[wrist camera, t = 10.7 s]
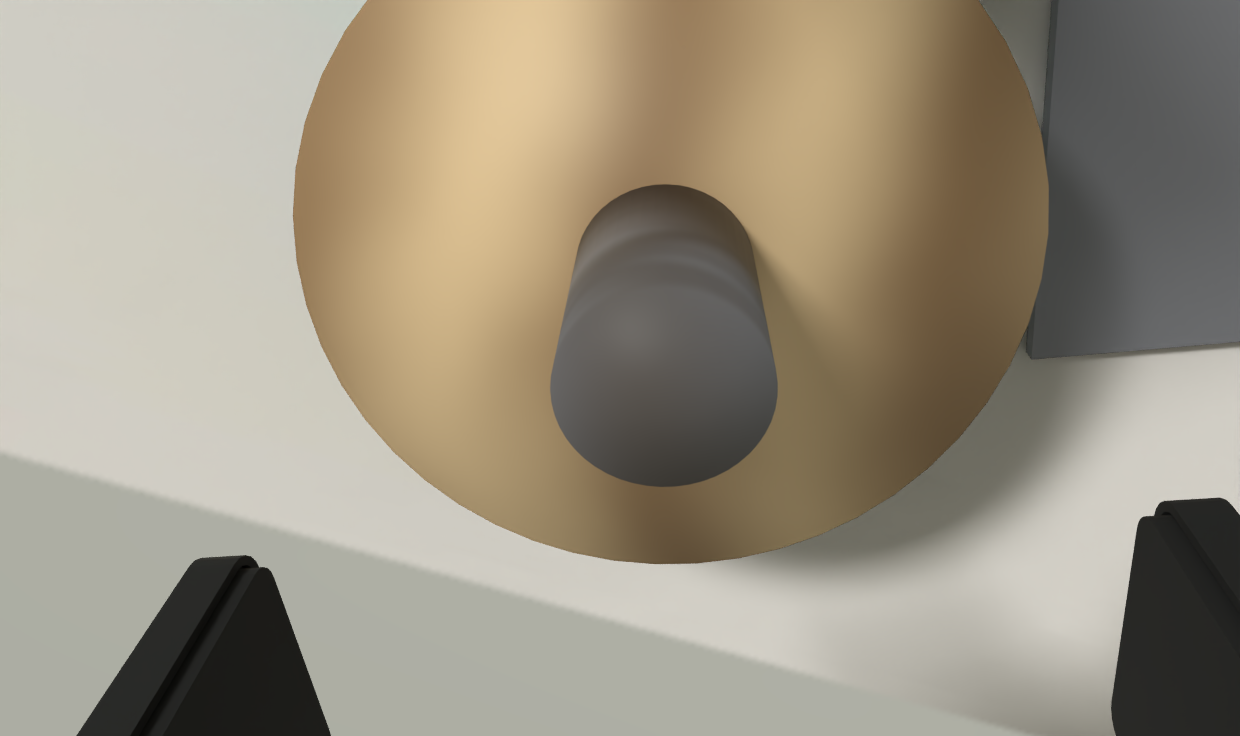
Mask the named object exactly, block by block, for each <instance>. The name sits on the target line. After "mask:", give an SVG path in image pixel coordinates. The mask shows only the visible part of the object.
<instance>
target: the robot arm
mask: <svg viewBox="0 0 1240 736" xmlns="http://www.w3.org/2000/svg"><path fill="white" fill-rule="evenodd" d="M1111 711H1112V720H1113V726H1114V730H1115V734H1116V736H1240V515H1239V514H1238V512H1237V511H1236V510H1235V509H1234V507H1233V506H1232V505H1231V504H1230V503H1229V502H1228V501H1227V500H1225V499H1222V498H1208V499H1191V500H1174V501H1164V502H1161V503H1160V504H1159V505H1158V507H1157V508H1156V511H1155V515H1154V516H1145V517H1142V518H1141V519H1140V521H1139V523H1138V527H1137V532H1136V539H1135V546H1134V553H1133V559H1132V566H1131V573H1130V580H1129V587H1128V594H1127V600H1126V607H1125V614H1124V621H1123V628H1122V634H1121V641H1120V648H1119V655H1118V662H1117V669H1116V675H1115V682H1114V689H1113V696H1112V705H1111ZM77 736H331V735H330V731H329V728H328V725H327V723H326V720H325V717H324V714H323V712H322V709H321V706H320V703H319V700H318V698H317V695H316V692H315V690H314V687H313V684H312V681H311V678H310V676H309V673H308V671H307V668H306V665H305V662H304V659H303V656H302V654H301V651H300V648H299V645H298V643H297V640H296V637H295V634H294V632H293V629H292V626H291V624H290V620H289V618H288V615H287V613H286V609H285V607H284V604H283V601H282V598H281V596H280V593H279V590H278V588H277V585H276V582H275V579H274V577H273V575H272V573H271V571H270V570H269V569H268V568H265V567H260V568H259V566H258V564H257V562H256V561H255V560H254V559H253V558H252V557H251V556H246V555H243V556H226V557H209V558H200V559H197V560H195V561H194V562H193V563H192V564H191V565H190V566H189V568H188V569H187V571H186V572H185V574H184V575H183V577H182V578H181V580H180V581H179V583H178V584H177V586H176V587H175V589H174V590H173V592H172V593H171V595H170V596H169V598H168V599H167V601H166V602H165V604H164V605H163V607H162V608H161V610H160V611H159V613H158V614H157V616H156V617H155V619H154V620H153V622H152V623H151V625H150V626H149V628H148V629H147V631H146V632H145V634H144V635H143V637H142V638H141V640H140V641H139V643H138V644H137V646H136V647H135V649H134V650H133V652H132V653H131V655H130V656H129V658H128V659H127V661H126V662H125V664H124V665H123V667H122V668H121V670H120V671H119V673H118V674H117V676H116V677H115V679H114V680H113V682H112V683H111V685H110V686H109V688H108V689H107V691H106V692H105V694H104V695H103V697H102V698H101V700H100V701H99V703H98V704H97V706H96V707H95V709H94V710H93V712H92V713H91V715H90V716H89V718H88V719H87V721H86V723H85V724H84V725H83V727H82V728H81V730H80V731H79V733H78V734H77Z"/></svg>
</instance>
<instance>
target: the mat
mask: <svg viewBox="0 0 1240 736" xmlns="http://www.w3.org/2000/svg"><path fill="white" fill-rule="evenodd" d="M1042 141H1043V148H1044V155H1045V162H1046V170H1047V177H1048V184H1049V213H1048V239H1047V246H1046V252H1045V259H1044V266H1043V272H1042V279H1041V283H1040V286H1039V289H1038V293H1037V296H1036V300H1035V303H1034V306H1033V310H1032V313H1031V317H1030V320H1029V323H1028V334H1027V348H1026V352H1027V353H1028V355H1029V356H1030V358H1031V359H1044V358H1055V357H1067V356H1079V355H1090V354H1102V353H1114V352H1125V351H1137V350H1149V349H1161V348H1172V347H1184V346H1196V345H1207V344H1219V343H1231V342H1240V0H1052V4H1051V17H1050V31H1049V45H1048V59H1047V72H1046V86H1045V100H1044V114H1043V127H1042Z"/></svg>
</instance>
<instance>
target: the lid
mask: <svg viewBox="0 0 1240 736" xmlns="http://www.w3.org/2000/svg"><path fill="white" fill-rule="evenodd" d="M1048 213H1049V184H1048V177H1047V170H1046V162H1045V155H1044V148H1043V141H1042V135H1041V132H1040V128H1039V125H1038V122H1037V118H1036V115H1035V111H1034V108H1033V105H1032V101H1031V98H1030V94H1029V91H1028V88H1027V86H1026V84H1025V82H1024V79H1023V77H1022V75H1021V73H1020V71H1019V69H1018V67H1017V64H1016V62H1015V60H1014V58H1013V56H1012V54H1011V52H1010V49H1009V47H1008V45H1007V43H1006V41H1005V40H1004V38H1003V37H1002V35H1001V34H1000V32H999V31H998V29H997V28H996V26H995V25H994V23H993V22H992V20H991V19H990V17H989V16H988V14H987V13H986V11H985V10H984V8H983V7H982V5H981V4H980V2H979V1H978V0H367V2H366V3H365V4H364V6H363V7H362V8H361V10H360V11H359V12H358V14H357V15H356V17H355V18H354V19H353V21H352V22H351V23H350V25H349V26H348V27H347V29H346V30H345V32H344V34H343V36H342V38H341V40H340V41H339V43H338V45H337V47H336V49H335V51H334V53H333V55H332V57H331V58H330V60H329V62H328V64H327V66H326V68H325V70H324V72H323V74H322V76H321V78H320V81H319V84H318V87H317V90H316V92H315V95H314V98H313V101H312V104H311V107H310V109H309V112H308V115H307V118H306V121H305V125H304V130H303V135H302V140H301V145H300V150H299V155H298V160H297V165H296V171H295V189H294V206H293V222H294V234H295V246H296V258H297V265H298V269H299V274H300V278H301V283H302V287H303V292H304V296H305V301H306V305H307V308H308V311H309V313H310V316H311V319H312V322H313V324H314V327H315V330H316V333H317V335H318V338H319V341H320V344H321V346H322V348H323V350H324V352H325V354H326V356H327V358H328V360H329V362H330V364H331V366H332V368H333V370H334V372H335V373H336V375H337V377H338V379H339V381H340V383H341V385H342V386H343V388H344V389H345V391H346V392H347V394H348V395H349V397H350V398H351V400H352V401H353V402H354V404H355V405H356V407H357V408H358V410H359V411H360V413H361V414H362V416H363V417H364V418H365V420H366V421H367V422H368V423H369V425H370V426H371V427H372V428H373V429H374V430H375V431H376V432H377V434H378V435H379V436H380V437H381V438H382V439H383V440H384V442H385V443H386V444H387V445H388V446H389V447H390V448H391V450H392V451H393V452H394V453H395V454H396V455H398V456H399V457H400V458H401V459H402V460H403V461H404V462H405V463H406V464H408V465H409V466H410V467H411V468H412V469H413V470H414V471H415V472H417V473H418V474H419V475H420V476H421V477H422V478H423V479H424V480H426V481H427V482H428V483H430V484H431V485H433V486H434V487H435V488H437V489H438V490H440V491H441V492H442V493H444V494H445V495H447V496H448V497H449V498H451V499H452V500H454V501H455V502H456V503H458V504H459V505H461V506H463V507H465V508H467V509H468V510H470V511H472V512H474V513H475V514H477V515H479V516H481V517H483V518H484V519H486V520H488V521H490V522H492V523H493V524H495V525H498V526H500V527H502V528H505V529H507V530H509V531H512V532H514V533H516V534H519V535H521V536H524V537H526V538H528V539H531V540H533V541H536V542H539V543H543V544H546V545H549V546H553V547H556V548H559V549H563V550H566V551H569V552H572V553H577V554H582V555H588V556H593V557H598V558H603V559H609V560H614V561H625V562H637V563H649V564H688V563H704V562H712V561H720V560H728V559H737V558H742V557H746V556H750V555H755V554H759V553H764V552H768V551H772V550H777V549H780V548H783V547H786V546H789V545H792V544H795V543H798V542H801V541H804V540H807V539H809V538H812V537H815V536H818V535H821V534H823V533H825V532H827V531H829V530H831V529H833V528H835V527H838V526H840V525H842V524H844V523H846V522H848V521H850V520H853V519H855V518H857V517H859V516H860V515H862V514H863V513H865V512H867V511H868V510H870V509H872V508H873V507H875V506H877V505H878V504H880V503H881V502H883V501H885V500H886V499H888V498H890V497H891V496H893V495H894V494H896V493H897V492H898V491H900V490H901V489H902V488H903V487H905V486H906V485H907V484H909V483H910V482H911V481H912V480H914V479H915V478H916V477H918V476H919V475H920V474H921V473H923V472H924V471H925V470H927V469H928V468H929V467H930V466H931V465H932V464H933V463H934V462H935V461H936V460H937V459H938V458H939V457H940V456H941V455H942V454H943V453H944V452H945V451H946V450H947V449H948V448H949V447H950V446H951V445H952V444H953V443H954V442H955V441H956V440H957V439H958V438H959V437H960V436H961V435H962V434H963V432H964V431H965V430H966V429H967V427H968V426H969V425H970V423H971V422H972V421H973V420H974V418H975V417H976V416H977V415H978V413H979V412H980V411H981V410H982V408H983V407H984V406H985V405H986V403H987V402H988V400H989V399H990V397H991V395H992V394H993V392H994V390H995V389H996V387H997V385H998V384H999V382H1000V381H1001V379H1002V377H1003V376H1004V374H1005V372H1006V371H1007V369H1008V367H1009V366H1010V364H1011V362H1012V359H1013V357H1014V355H1015V353H1016V350H1017V348H1018V346H1019V344H1020V341H1021V339H1022V337H1023V335H1024V333H1025V330H1026V328H1027V326H1028V323H1029V320H1030V317H1031V313H1032V310H1033V306H1034V303H1035V300H1036V296H1037V293H1038V289H1039V286H1040V283H1041V279H1042V272H1043V266H1044V259H1045V252H1046V246H1047V239H1048Z"/></svg>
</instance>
